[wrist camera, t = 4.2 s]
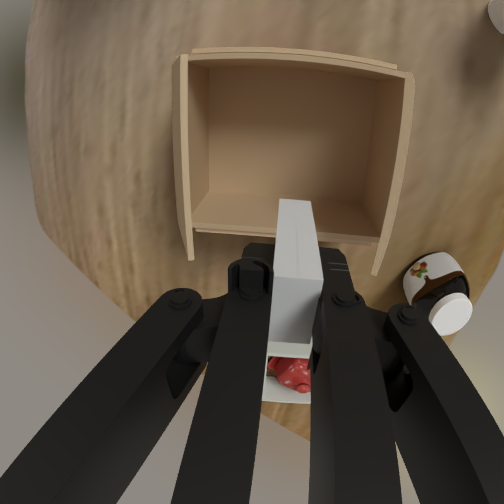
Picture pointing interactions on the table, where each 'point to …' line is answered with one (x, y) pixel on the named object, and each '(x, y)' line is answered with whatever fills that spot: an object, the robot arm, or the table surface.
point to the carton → (291, 139)
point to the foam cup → (497, 14)
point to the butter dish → (292, 372)
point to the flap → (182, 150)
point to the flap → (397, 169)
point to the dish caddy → (271, 385)
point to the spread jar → (439, 291)
